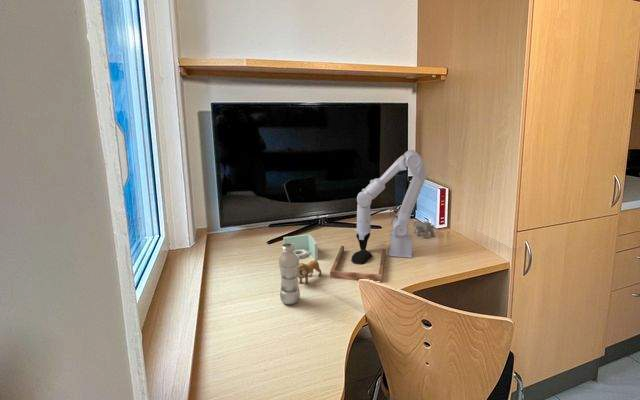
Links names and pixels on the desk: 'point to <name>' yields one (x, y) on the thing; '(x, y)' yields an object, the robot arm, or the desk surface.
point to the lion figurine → (307, 270)
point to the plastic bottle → (289, 275)
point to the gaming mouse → (361, 257)
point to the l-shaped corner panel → (303, 245)
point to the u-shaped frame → (353, 274)
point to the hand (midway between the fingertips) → (363, 249)
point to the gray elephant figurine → (424, 228)
